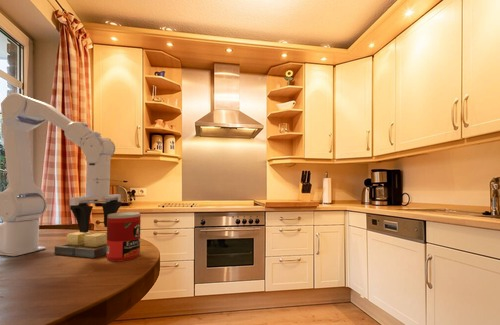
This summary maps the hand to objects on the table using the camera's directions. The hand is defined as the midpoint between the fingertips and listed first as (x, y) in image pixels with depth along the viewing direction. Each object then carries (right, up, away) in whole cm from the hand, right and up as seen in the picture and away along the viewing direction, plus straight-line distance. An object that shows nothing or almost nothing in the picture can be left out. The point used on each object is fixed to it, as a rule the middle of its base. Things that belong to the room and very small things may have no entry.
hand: (96, 229), depth 71 cm
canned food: (+10, -6, -5) cm, 12 cm away
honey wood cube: (0, -6, 0) cm, 6 cm away
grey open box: (-3, -6, +1) cm, 7 cm away
